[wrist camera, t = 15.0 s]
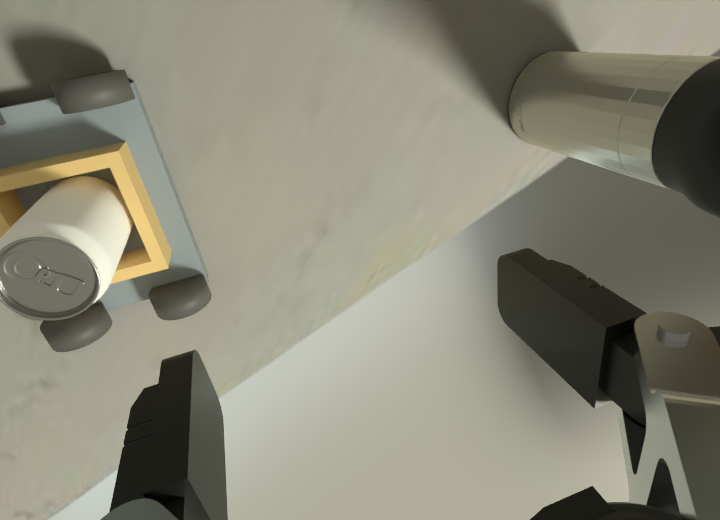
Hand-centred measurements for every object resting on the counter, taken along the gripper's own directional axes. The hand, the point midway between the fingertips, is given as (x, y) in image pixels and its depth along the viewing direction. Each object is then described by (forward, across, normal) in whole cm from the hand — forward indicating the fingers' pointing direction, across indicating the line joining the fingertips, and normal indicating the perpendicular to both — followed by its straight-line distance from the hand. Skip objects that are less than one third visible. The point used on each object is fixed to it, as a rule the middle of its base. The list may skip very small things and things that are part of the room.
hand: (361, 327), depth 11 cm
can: (+31, +15, +4) cm, 34 cm away
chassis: (+32, +15, +4) cm, 36 cm away
